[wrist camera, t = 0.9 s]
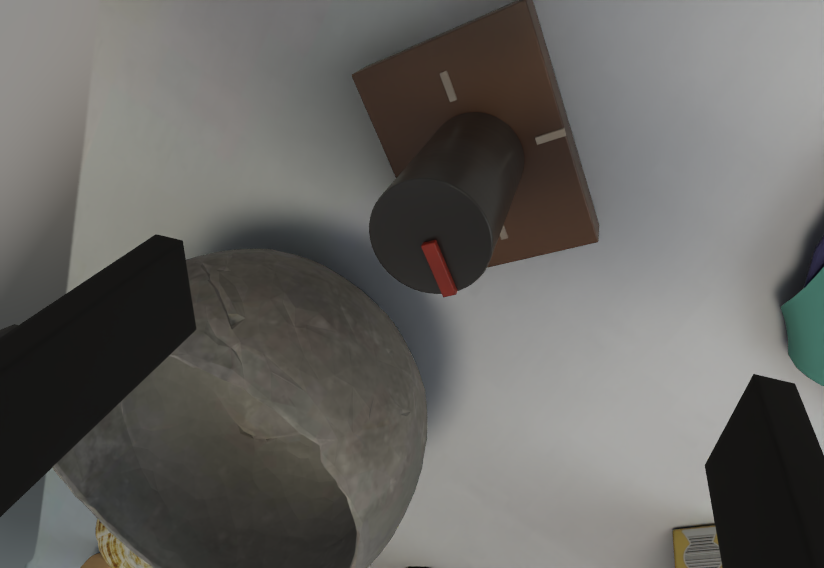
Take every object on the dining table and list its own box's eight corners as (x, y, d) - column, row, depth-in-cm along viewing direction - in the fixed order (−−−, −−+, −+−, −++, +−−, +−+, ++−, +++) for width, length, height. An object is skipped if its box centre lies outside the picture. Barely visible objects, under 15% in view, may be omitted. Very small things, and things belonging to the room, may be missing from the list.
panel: (364, 67, 30) (349, 75, 28) (531, -6, 26) (525, -1, 24) (447, 262, 35) (438, 280, 33) (599, 225, 31) (598, 244, 29)
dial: (415, 130, 29) (344, 202, 21) (505, 97, 27) (463, 164, 19) (449, 214, 31) (396, 309, 23) (537, 190, 29) (509, 284, 21)
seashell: (94, 487, 60) (43, 555, 51) (170, 440, 60) (133, 500, 50) (155, 554, 63) (118, 630, 53) (229, 510, 62) (205, 579, 53)
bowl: (520, 375, 37) (475, 592, 25) (329, 471, 49) (232, 654, 36) (298, 132, 33) (113, 252, 21) (143, 298, 44) (-37, 440, 32)
